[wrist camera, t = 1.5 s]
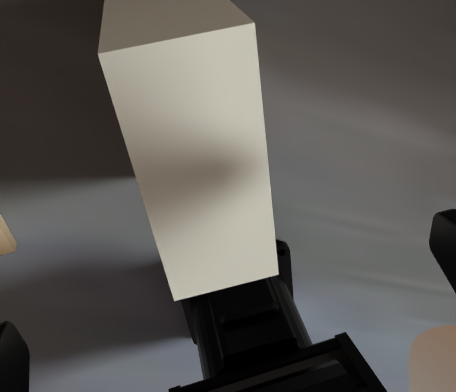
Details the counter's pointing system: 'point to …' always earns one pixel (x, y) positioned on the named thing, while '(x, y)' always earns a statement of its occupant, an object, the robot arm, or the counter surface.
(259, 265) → the cream box
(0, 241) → the mat
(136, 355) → the counter surface
